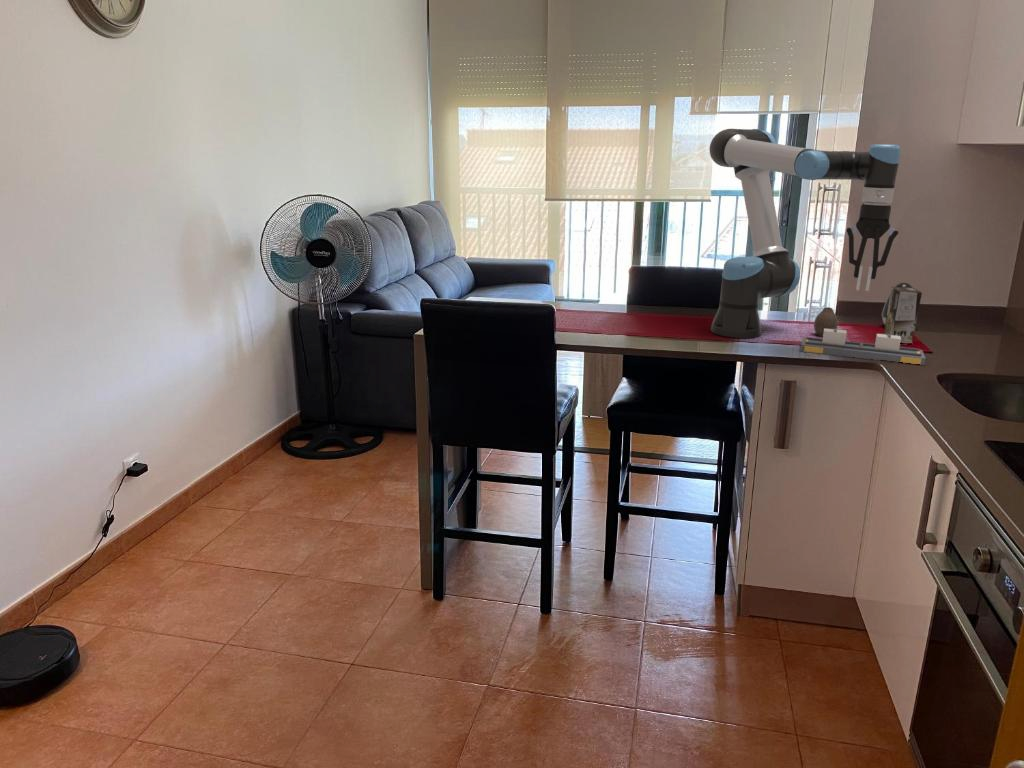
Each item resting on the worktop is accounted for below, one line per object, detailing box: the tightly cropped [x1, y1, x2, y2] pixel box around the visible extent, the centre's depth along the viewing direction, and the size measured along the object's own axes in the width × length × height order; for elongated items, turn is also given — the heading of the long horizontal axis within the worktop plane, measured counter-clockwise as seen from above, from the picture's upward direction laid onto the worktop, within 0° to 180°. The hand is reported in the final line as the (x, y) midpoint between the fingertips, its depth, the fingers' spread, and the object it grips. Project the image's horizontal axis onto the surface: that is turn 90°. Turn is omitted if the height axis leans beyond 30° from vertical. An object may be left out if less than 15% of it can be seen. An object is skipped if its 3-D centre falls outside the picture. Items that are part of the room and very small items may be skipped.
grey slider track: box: [800, 336, 927, 366], centre depth 215 cm, size 32×10×3 cm, turn 67°
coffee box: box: [883, 286, 923, 344], centre depth 229 cm, size 9×6×16 cm
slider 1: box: [822, 328, 847, 345], centre depth 217 cm, size 6×4×4 cm, turn 67°
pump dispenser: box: [881, 281, 914, 325], centre depth 247 cm, size 10×10×15 cm
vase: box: [813, 306, 839, 337], centre depth 236 cm, size 7×7×9 cm
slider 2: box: [874, 333, 901, 351], centre depth 212 cm, size 6×4×4 cm, turn 67°
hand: (862, 289), depth 211 cm, fingers open, 2 cm apart
